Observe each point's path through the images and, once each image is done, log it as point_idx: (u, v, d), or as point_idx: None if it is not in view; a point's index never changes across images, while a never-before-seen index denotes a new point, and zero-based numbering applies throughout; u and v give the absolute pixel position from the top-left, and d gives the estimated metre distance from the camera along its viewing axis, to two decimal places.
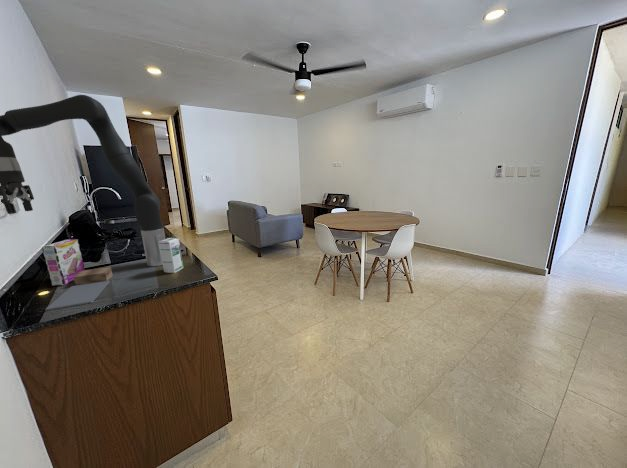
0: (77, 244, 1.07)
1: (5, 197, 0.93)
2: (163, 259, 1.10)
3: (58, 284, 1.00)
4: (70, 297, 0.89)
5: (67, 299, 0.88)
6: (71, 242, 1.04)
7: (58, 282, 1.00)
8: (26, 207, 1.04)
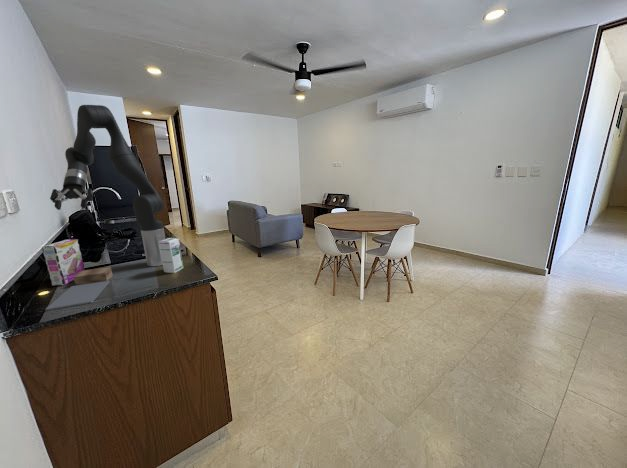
0: (77, 244, 1.07)
1: (52, 196, 1.11)
2: (163, 259, 1.10)
3: (58, 284, 1.00)
4: (70, 297, 0.89)
5: (67, 299, 0.88)
6: (71, 242, 1.04)
7: (58, 282, 1.00)
8: None
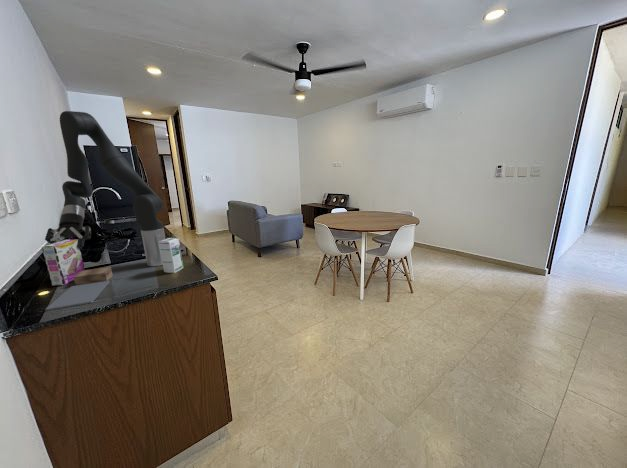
0: (77, 244, 1.07)
1: (47, 236, 1.05)
2: (163, 259, 1.10)
3: (58, 284, 1.00)
4: (70, 297, 0.89)
5: (67, 299, 0.88)
6: (71, 242, 1.04)
7: (58, 282, 1.00)
8: None
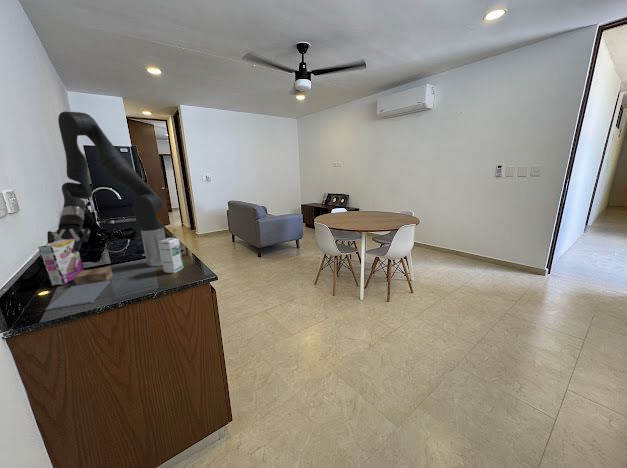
0: (74, 243, 1.06)
1: (49, 239, 1.04)
2: (163, 259, 1.10)
3: (58, 284, 1.00)
4: (70, 297, 0.89)
5: (67, 299, 0.88)
6: (68, 241, 1.04)
7: (58, 282, 1.00)
8: None
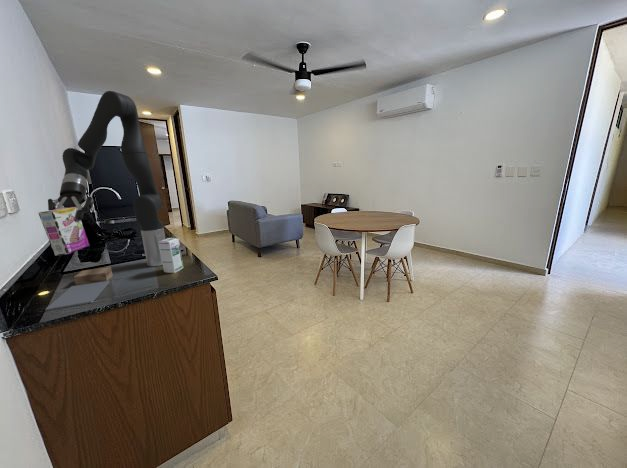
0: (76, 212, 0.99)
1: (49, 207, 0.97)
2: (163, 259, 1.10)
3: (61, 253, 0.92)
4: (70, 297, 0.89)
5: (67, 299, 0.88)
6: (70, 209, 0.96)
7: (61, 251, 0.92)
8: None
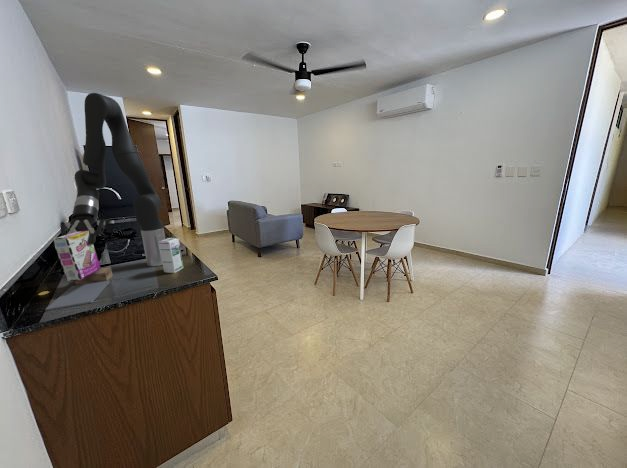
0: None
1: (62, 231, 0.96)
2: (163, 259, 1.10)
3: (74, 279, 0.92)
4: (70, 297, 0.89)
5: (67, 299, 0.88)
6: (82, 233, 0.95)
7: (74, 277, 0.91)
8: None
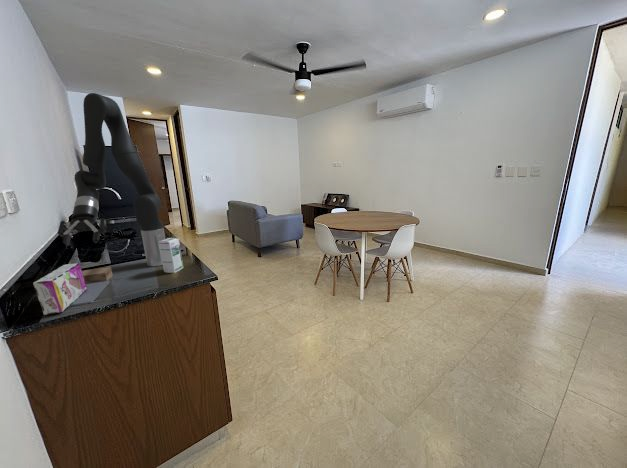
0: (57, 280, 0.79)
1: (59, 230, 0.96)
2: (163, 259, 1.10)
3: None
4: None
5: None
6: (56, 289, 0.78)
7: None
8: None
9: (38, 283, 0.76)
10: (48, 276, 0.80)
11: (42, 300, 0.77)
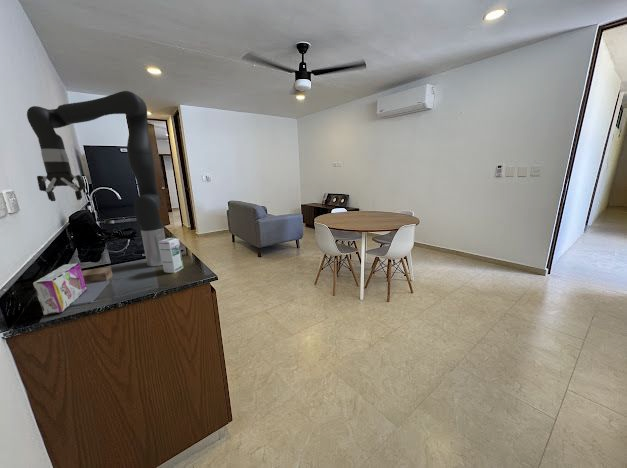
0: (57, 280, 0.79)
1: (40, 186, 1.03)
2: (163, 259, 1.10)
3: None
4: None
5: None
6: (56, 289, 0.78)
7: None
8: None
9: (38, 283, 0.76)
10: (48, 276, 0.80)
11: (42, 300, 0.77)
